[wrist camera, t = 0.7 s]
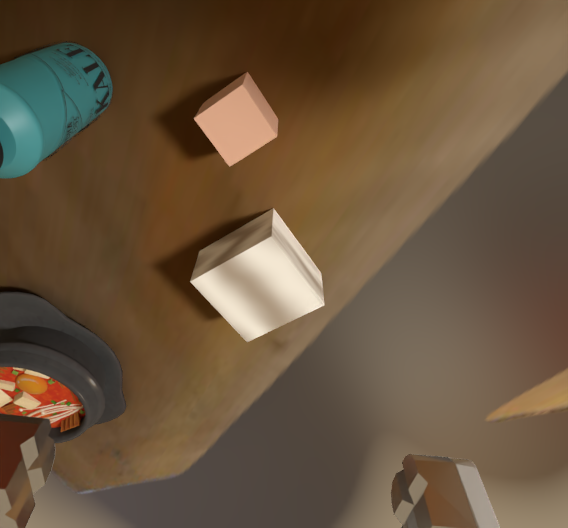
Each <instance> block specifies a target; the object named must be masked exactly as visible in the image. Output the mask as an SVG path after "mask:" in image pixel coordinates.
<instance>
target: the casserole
mask: <svg viewBox="0 0 568 528" xmlns="http://www.w3.org/2000/svg"><path fill="white" fill-rule="evenodd" d="M125 409H126V403H125V399H124V395H123V391H122V369H121V366H120V362H119V360H118V359H117V357H116V355H115V353H114V352H113V351H112V350H111V348H110V347H109V346H108V345H107V344H106V343H105V342H104V341H103V340H102V339H100V338H99V337H98V336H97V335H96V334H94V333H93V332H91V331H89V330H88V329H86V328H84V327H83V326H81V325H79V324H78V323H76V322H74V321H73V320H71V319H69V318H68V317H67V316H65V315H64V314H63V313H62V312H61V311H59V310H58V309H57V308H56V307H54V306H53V305H52V304H50V303H49V302H48V301H46V300H45V299H43V298H41V297H38V296H36V295H33V294H29V293H23V292H0V413H1V414H10V415H19V416H28V417H37V418H46V419H50V423H51V427H52V429H51V431H50V433H49V435H48V436H49V437H50V438H51V439H53V440H54V443H62V442H66V441H69V440H72V439H74V438H76V437H78V436H80V435H81V434H82V433H83V432H85V431H86V430H87V429H88V428H90V427H92V426H93V425H95V424H101V423H104V422H108V421H111V420H113V419H115V418H117V417H119V416H120V415H121V414H122V413H124V411H125Z"/></svg>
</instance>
